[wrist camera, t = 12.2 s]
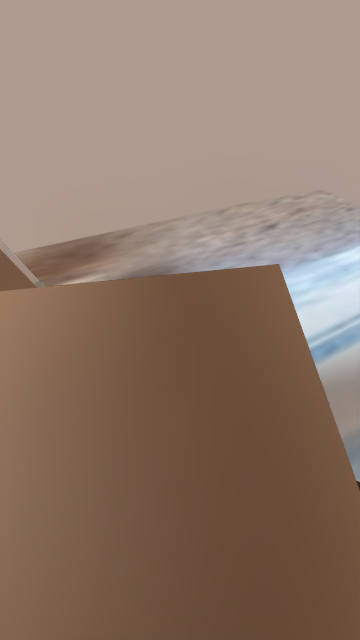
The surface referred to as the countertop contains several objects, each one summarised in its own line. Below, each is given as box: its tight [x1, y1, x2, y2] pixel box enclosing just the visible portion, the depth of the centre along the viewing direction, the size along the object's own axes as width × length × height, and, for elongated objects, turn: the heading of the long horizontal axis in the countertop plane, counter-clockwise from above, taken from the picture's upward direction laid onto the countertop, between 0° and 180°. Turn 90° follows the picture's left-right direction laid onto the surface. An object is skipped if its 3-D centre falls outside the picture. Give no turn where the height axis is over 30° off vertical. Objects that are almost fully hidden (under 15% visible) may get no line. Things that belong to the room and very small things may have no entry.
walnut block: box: [0, 264, 360, 640], centre depth 8 cm, size 5×5×12 cm
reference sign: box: [0, 239, 46, 291], centre depth 19 cm, size 4×10×13 cm, turn 20°
